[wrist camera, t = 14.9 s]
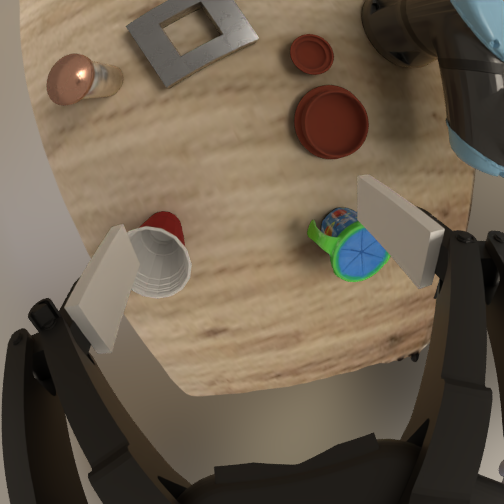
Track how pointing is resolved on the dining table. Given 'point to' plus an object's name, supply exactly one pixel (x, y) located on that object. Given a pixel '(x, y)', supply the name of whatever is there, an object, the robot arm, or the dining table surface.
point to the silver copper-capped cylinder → (82, 80)
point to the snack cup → (349, 245)
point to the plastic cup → (160, 256)
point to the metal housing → (180, 67)
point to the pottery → (326, 105)
